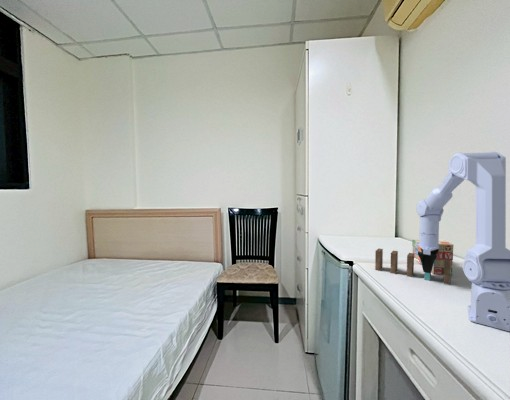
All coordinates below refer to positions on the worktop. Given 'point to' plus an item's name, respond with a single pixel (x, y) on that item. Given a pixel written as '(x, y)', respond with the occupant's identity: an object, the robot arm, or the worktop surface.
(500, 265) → the robot arm
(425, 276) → the teal domino
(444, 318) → the worktop surface
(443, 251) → the stack of blocks
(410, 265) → the walnut domino
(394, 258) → the walnut domino
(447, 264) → the walnut domino
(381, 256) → the walnut domino
